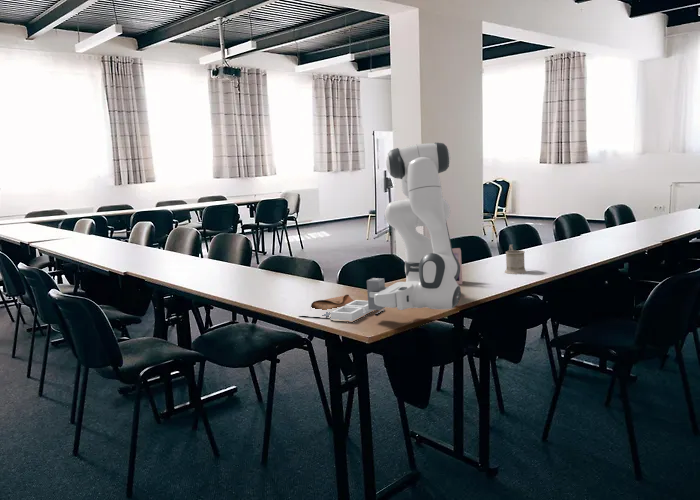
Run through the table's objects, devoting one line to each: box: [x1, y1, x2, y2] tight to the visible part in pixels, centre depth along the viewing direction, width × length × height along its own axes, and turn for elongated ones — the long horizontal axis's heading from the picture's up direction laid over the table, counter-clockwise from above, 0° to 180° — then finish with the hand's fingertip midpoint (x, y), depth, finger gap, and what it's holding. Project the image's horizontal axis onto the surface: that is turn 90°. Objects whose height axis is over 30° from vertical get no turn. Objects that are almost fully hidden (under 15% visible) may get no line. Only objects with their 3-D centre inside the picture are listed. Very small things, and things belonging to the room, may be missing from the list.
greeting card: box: [452, 247, 463, 285], centre depth 250 cm, size 11×7×15 cm, turn 64°
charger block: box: [366, 277, 386, 311], centre depth 194 cm, size 4×4×10 cm
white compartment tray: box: [329, 299, 374, 321], centre depth 206 cm, size 21×9×3 cm, turn 151°
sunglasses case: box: [310, 294, 355, 310], centre depth 218 cm, size 18×7×7 cm
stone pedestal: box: [504, 244, 527, 275], centre depth 266 cm, size 14×10×12 cm
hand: (374, 292), depth 195 cm, fingers closed on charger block, 4 cm apart
